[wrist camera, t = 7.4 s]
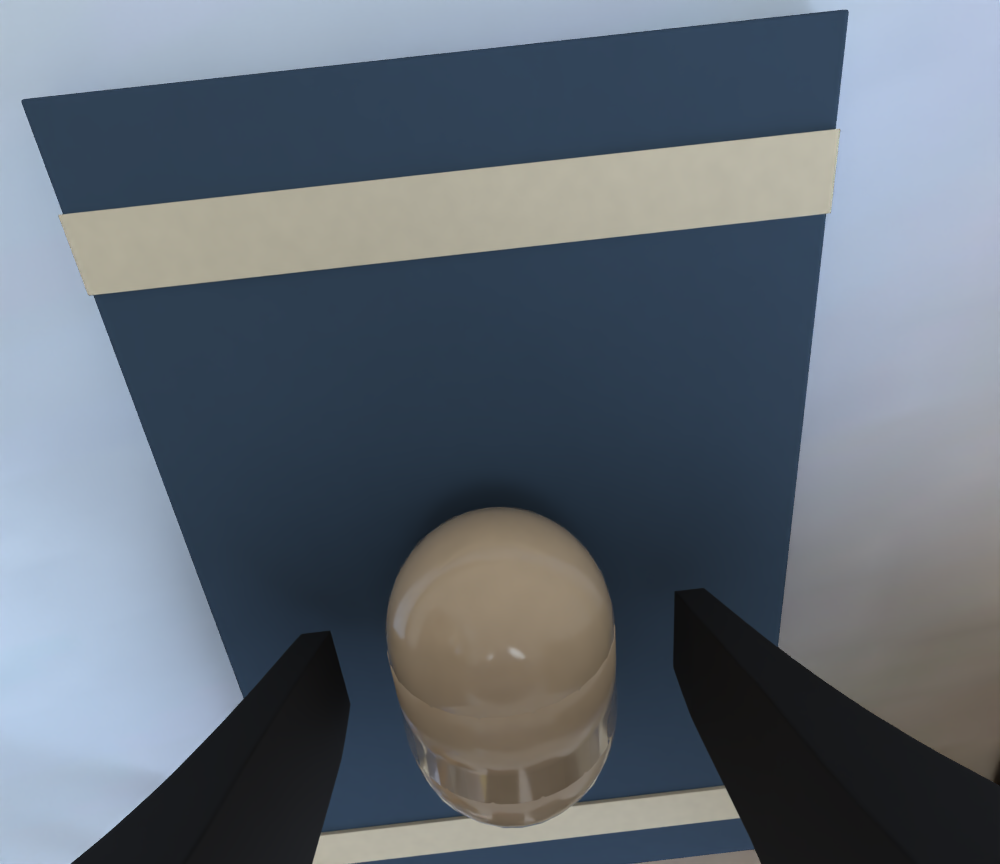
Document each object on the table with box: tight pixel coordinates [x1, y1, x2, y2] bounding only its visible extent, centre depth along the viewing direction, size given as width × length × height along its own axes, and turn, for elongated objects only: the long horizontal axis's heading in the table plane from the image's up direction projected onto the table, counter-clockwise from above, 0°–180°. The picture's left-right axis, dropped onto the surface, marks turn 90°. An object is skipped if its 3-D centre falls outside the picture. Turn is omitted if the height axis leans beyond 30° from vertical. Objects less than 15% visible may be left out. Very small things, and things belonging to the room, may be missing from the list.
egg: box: [385, 507, 618, 828], centre depth 11 cm, size 6×4×4 cm
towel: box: [22, 10, 849, 864], centre depth 13 cm, size 22×14×1 cm, turn 6°
